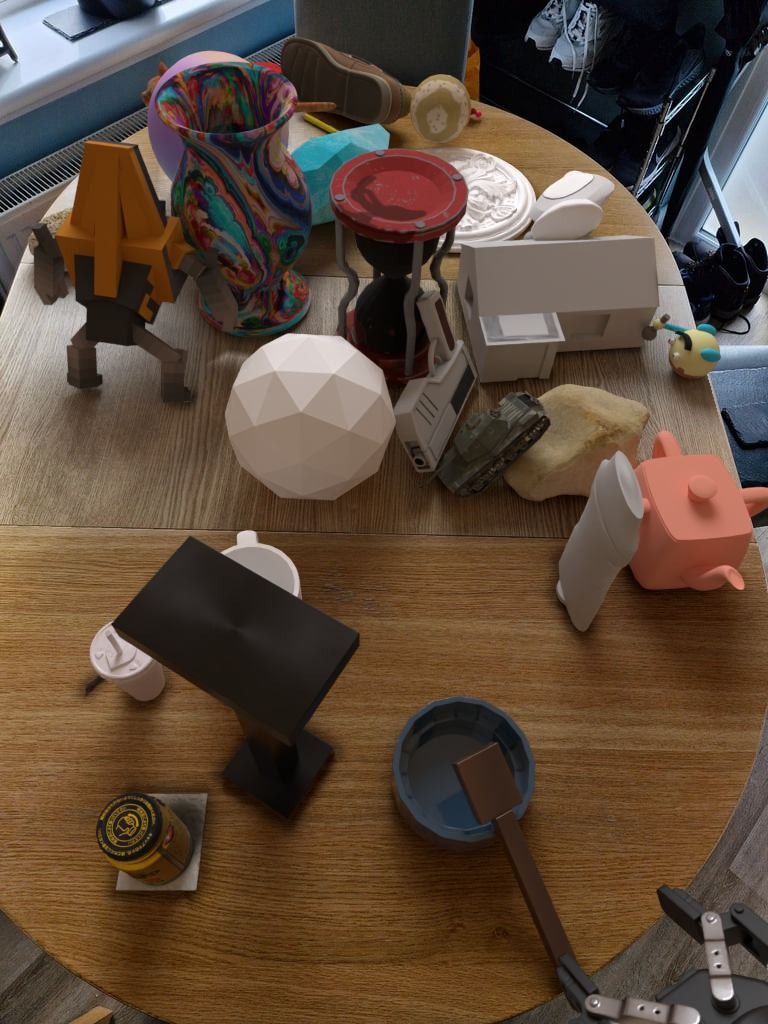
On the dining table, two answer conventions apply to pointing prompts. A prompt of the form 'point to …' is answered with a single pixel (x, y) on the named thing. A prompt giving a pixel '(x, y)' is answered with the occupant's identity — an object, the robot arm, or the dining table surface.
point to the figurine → (688, 347)
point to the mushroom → (440, 108)
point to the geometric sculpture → (309, 416)
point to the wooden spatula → (511, 839)
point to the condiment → (153, 839)
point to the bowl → (432, 780)
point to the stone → (577, 442)
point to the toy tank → (491, 443)
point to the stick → (93, 683)
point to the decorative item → (50, 227)
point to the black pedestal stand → (246, 662)
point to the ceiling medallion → (488, 197)
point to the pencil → (319, 123)
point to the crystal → (334, 162)
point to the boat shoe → (343, 82)
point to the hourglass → (394, 251)
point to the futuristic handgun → (434, 389)
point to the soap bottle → (570, 207)
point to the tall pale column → (601, 540)
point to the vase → (241, 188)
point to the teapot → (692, 520)
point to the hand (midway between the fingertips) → (613, 929)
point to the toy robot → (124, 266)
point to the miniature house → (554, 299)
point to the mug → (265, 562)
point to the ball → (164, 139)
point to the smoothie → (126, 665)
